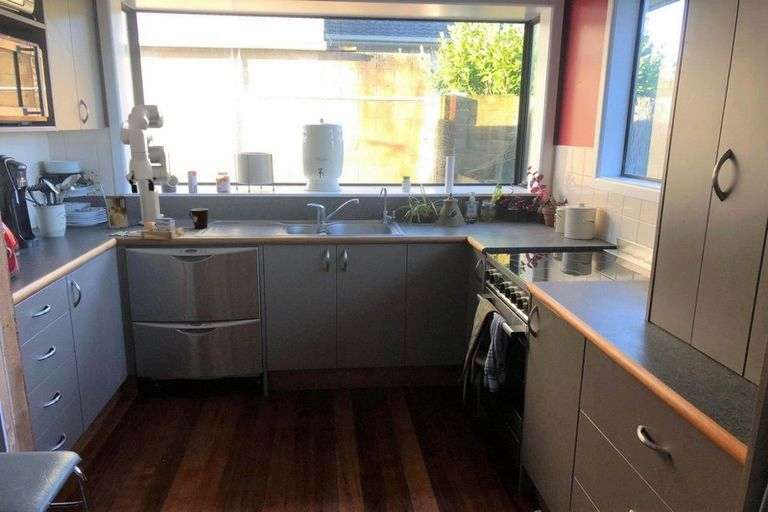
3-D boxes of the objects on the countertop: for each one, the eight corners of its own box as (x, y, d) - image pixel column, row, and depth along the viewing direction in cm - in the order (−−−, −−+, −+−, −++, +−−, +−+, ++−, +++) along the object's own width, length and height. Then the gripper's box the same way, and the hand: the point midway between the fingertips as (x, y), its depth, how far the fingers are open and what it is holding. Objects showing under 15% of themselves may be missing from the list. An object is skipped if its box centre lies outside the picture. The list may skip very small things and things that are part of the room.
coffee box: (127, 225, 304) (124, 195, 301) (129, 227, 299) (126, 197, 295) (108, 226, 299) (105, 197, 296) (110, 228, 294) (107, 198, 290)
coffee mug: (211, 228, 295) (210, 209, 293) (195, 230, 291) (193, 211, 288) (205, 225, 305) (203, 207, 302) (189, 226, 300) (187, 208, 298)
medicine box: (156, 236, 276) (154, 218, 274) (161, 234, 280) (159, 217, 278) (171, 236, 275) (169, 219, 273) (176, 234, 279) (174, 217, 277)
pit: (136, 233, 281) (136, 230, 280) (149, 234, 280) (149, 230, 280) (128, 236, 274) (128, 233, 274) (142, 237, 273) (141, 233, 273)
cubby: (156, 233, 282) (155, 226, 281) (184, 234, 280) (183, 227, 279) (141, 238, 269) (140, 231, 268) (171, 239, 267) (170, 232, 266)
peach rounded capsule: (148, 231, 288) (147, 221, 287) (157, 231, 288) (156, 221, 287) (142, 232, 284) (141, 223, 282) (152, 233, 283) (151, 223, 282)
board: (120, 232, 286) (120, 231, 286) (137, 232, 284) (136, 231, 284) (108, 235, 276) (108, 235, 276) (125, 236, 275) (125, 235, 275)
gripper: (149, 155, 274) (152, 189, 278) (118, 156, 259) (122, 193, 263) (160, 155, 270) (163, 190, 274) (129, 157, 256) (133, 194, 259)
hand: (143, 192), depth 269 cm, fingers open, 9 cm apart
